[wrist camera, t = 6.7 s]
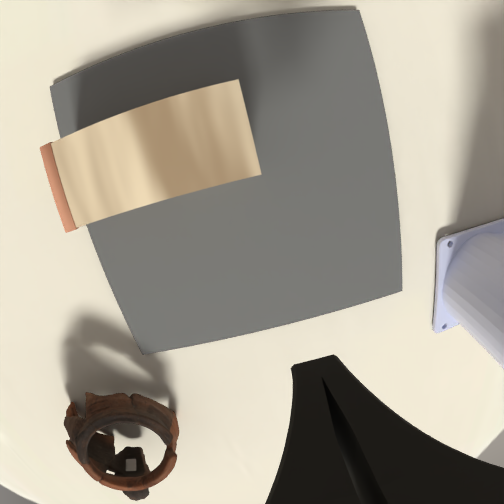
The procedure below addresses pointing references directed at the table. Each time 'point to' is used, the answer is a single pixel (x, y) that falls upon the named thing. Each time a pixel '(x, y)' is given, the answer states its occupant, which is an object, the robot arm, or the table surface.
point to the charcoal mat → (254, 182)
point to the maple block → (152, 154)
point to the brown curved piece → (130, 458)
